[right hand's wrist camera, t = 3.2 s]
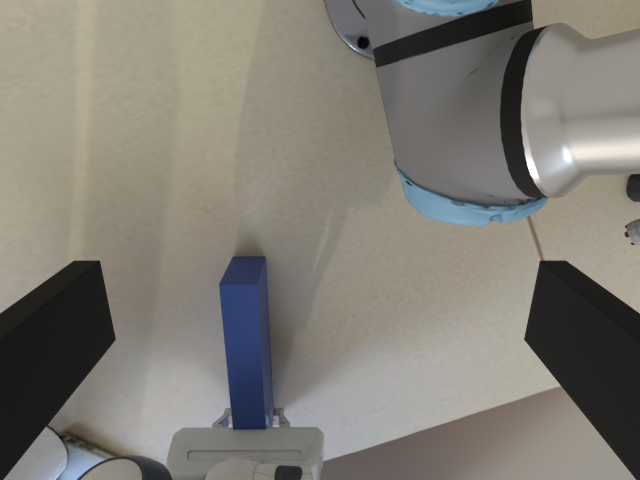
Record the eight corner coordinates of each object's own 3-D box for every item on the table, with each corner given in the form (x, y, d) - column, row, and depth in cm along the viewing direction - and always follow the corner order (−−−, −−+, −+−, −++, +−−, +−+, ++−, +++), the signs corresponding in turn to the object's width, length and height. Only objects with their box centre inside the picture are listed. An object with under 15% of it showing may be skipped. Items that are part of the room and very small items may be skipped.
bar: (232, 256, 56) (218, 284, 48) (265, 256, 56) (257, 284, 48) (245, 416, 66) (235, 460, 58) (273, 416, 66) (267, 460, 58)
